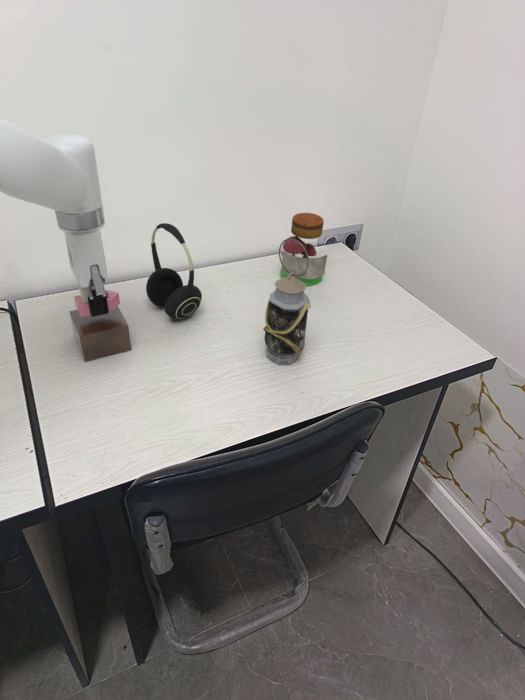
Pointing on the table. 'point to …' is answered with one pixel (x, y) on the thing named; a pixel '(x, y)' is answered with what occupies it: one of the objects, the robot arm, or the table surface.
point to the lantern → (286, 318)
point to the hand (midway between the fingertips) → (96, 307)
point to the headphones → (172, 283)
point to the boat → (83, 303)
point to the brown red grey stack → (307, 229)
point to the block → (101, 334)
